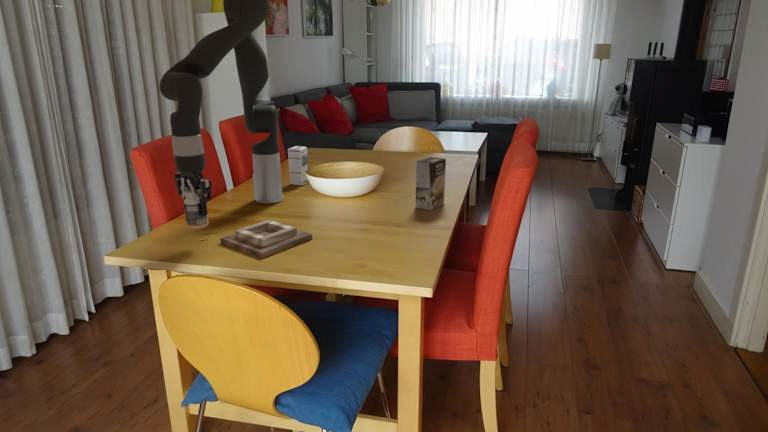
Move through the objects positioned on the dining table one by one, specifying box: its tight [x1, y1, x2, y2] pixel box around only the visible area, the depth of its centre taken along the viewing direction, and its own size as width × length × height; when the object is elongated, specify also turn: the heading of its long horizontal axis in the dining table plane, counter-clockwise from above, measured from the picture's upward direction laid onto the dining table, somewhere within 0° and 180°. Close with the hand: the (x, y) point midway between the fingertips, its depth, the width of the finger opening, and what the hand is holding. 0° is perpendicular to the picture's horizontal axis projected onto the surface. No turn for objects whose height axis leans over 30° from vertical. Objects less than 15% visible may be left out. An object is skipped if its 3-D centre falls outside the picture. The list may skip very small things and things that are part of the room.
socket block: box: [219, 219, 313, 259], centre depth 149 cm, size 18×18×4 cm
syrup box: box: [287, 145, 310, 186], centre depth 208 cm, size 6×6×14 cm
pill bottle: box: [183, 189, 210, 230], centre depth 142 cm, size 6×6×10 cm
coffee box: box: [415, 156, 447, 211], centre depth 178 cm, size 9×6×16 cm
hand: (196, 213), depth 142 cm, fingers closed on pill bottle, 5 cm apart
